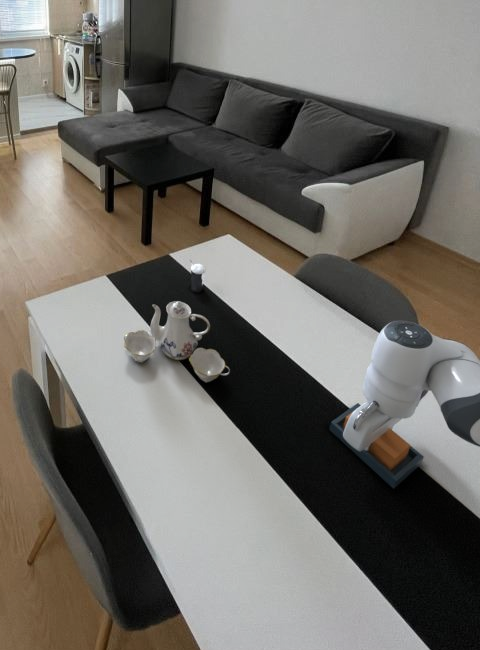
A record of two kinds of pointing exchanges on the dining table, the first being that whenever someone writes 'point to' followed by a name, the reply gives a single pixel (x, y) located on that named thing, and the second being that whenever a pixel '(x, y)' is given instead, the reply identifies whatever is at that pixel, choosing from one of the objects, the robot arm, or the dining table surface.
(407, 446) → the orange rectangular block
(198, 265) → the milkshake
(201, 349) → the chinaware
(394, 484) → the dark blue rectangular tray
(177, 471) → the dining table surface
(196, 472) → the dining table surface
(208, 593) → the dining table surface
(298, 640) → the dining table surface
